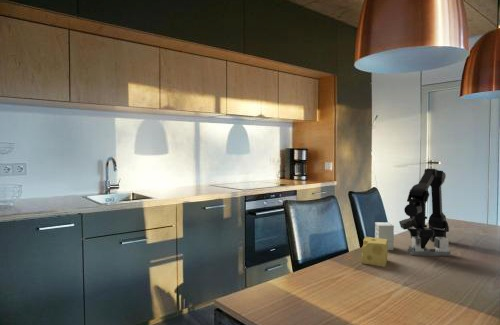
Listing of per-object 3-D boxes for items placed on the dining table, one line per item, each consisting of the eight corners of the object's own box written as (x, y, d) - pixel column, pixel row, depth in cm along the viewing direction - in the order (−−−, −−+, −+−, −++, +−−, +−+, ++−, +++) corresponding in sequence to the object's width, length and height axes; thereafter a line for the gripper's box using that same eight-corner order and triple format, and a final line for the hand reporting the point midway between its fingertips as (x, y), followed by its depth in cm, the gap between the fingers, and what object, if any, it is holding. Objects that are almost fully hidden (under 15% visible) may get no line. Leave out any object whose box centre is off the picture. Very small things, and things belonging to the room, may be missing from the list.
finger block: (421, 248, 160) (421, 236, 160) (425, 251, 156) (425, 238, 156) (411, 248, 160) (412, 236, 160) (415, 251, 156) (415, 238, 156)
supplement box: (389, 246, 171) (389, 222, 171) (393, 250, 164) (394, 225, 163) (374, 245, 172) (374, 221, 171) (378, 250, 165) (378, 225, 164)
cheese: (360, 263, 145) (361, 241, 145) (364, 256, 155) (365, 235, 154) (386, 267, 140) (386, 244, 140) (388, 260, 150) (388, 238, 150)
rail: (445, 253, 159) (446, 236, 159) (450, 255, 155) (450, 239, 155) (407, 252, 160) (407, 236, 160) (411, 255, 156) (411, 238, 156)
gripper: (394, 209, 167) (393, 240, 168) (409, 217, 149) (409, 251, 149) (416, 210, 166) (416, 240, 167) (435, 217, 148) (434, 252, 148)
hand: (418, 245), depth 158 cm, fingers open, 9 cm apart
